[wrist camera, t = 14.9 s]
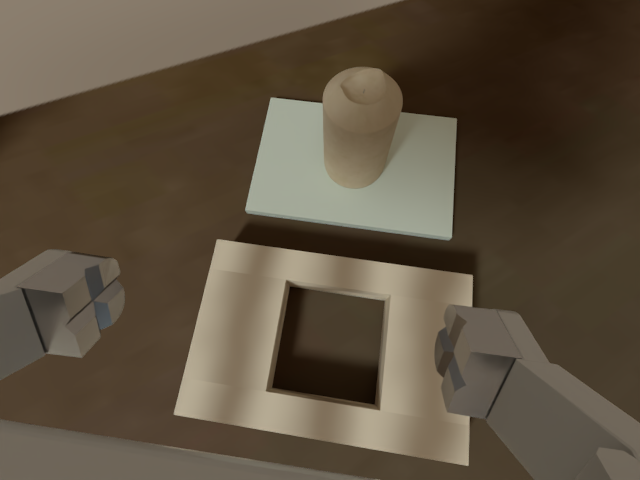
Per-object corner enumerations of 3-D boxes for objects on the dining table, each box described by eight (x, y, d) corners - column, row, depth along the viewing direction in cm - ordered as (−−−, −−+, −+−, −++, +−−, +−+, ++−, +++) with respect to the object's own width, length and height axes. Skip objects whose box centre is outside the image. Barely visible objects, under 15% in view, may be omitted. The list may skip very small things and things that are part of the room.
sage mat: (247, 213, 32) (245, 209, 31) (272, 102, 36) (270, 97, 35) (448, 240, 31) (451, 237, 30) (454, 123, 35) (456, 118, 34)
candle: (356, 125, 34) (367, 36, 24) (396, 165, 32) (425, 87, 23) (311, 159, 33) (304, 80, 23) (351, 201, 32) (361, 135, 22)
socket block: (189, 408, 27) (173, 414, 25) (227, 249, 31) (217, 239, 28) (453, 453, 26) (468, 465, 23) (459, 282, 30) (473, 275, 27)
